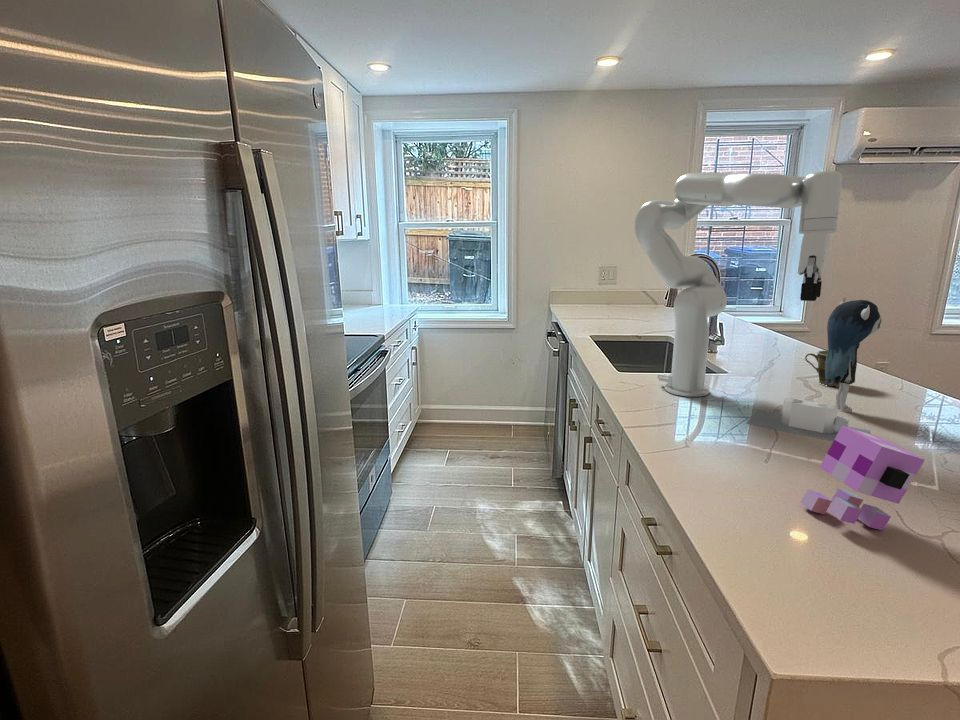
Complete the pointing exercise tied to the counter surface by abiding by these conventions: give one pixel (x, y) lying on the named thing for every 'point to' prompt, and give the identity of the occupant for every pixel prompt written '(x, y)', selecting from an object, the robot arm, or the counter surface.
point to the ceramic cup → (821, 367)
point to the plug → (811, 415)
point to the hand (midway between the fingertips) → (810, 298)
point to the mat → (775, 423)
